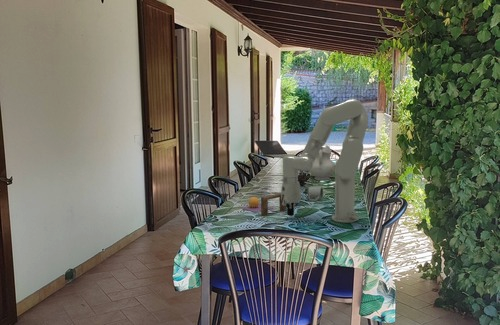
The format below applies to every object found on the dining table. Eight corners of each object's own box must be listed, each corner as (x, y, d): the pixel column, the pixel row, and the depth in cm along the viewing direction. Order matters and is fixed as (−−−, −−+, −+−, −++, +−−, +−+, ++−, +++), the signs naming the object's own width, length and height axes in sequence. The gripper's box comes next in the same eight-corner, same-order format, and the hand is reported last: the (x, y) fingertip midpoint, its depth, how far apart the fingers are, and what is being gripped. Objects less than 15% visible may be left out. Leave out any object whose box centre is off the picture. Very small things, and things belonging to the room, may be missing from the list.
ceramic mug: (310, 197, 273) (310, 184, 272) (323, 198, 270) (323, 185, 269) (305, 201, 263) (305, 188, 262) (319, 202, 260) (319, 189, 259)
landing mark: (273, 208, 248) (273, 208, 248) (255, 212, 240) (255, 212, 240) (258, 204, 258) (258, 203, 258) (240, 208, 250) (240, 207, 250)
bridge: (286, 211, 242) (285, 193, 240) (264, 216, 233) (264, 198, 231) (282, 210, 244) (282, 192, 243) (261, 215, 235) (260, 197, 234)
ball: (253, 202, 255) (259, 209, 252) (245, 204, 252) (251, 210, 248) (256, 194, 253) (262, 200, 249) (248, 195, 249) (254, 202, 245)
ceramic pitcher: (337, 183, 317) (340, 148, 314) (309, 181, 318) (312, 147, 314) (332, 178, 339) (334, 145, 335) (306, 176, 339) (308, 143, 335)
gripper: (284, 183, 218) (284, 219, 221) (306, 179, 227) (306, 214, 230) (274, 181, 224) (274, 216, 227) (295, 177, 233) (296, 211, 236)
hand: (290, 215), depth 228 cm, fingers closed
